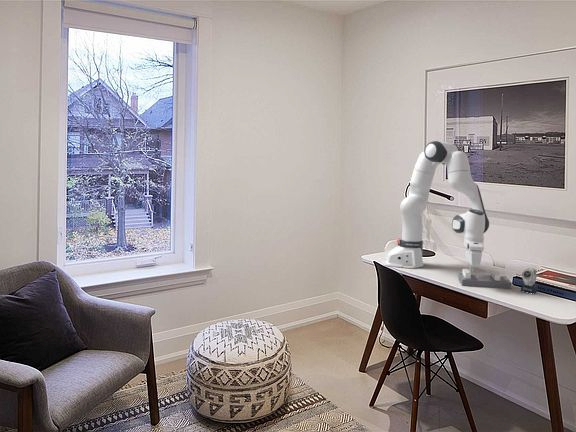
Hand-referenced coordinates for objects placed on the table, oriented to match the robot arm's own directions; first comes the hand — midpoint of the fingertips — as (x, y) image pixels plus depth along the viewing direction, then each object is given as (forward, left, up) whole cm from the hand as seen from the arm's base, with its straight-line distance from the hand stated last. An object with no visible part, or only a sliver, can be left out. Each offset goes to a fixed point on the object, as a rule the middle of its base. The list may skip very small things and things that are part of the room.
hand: (471, 271), depth 238 cm
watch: (+24, -9, -6) cm, 27 cm away
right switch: (+11, 0, -3) cm, 12 cm away
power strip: (+6, 0, -6) cm, 8 cm away
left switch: (-2, 0, -3) cm, 3 cm away
